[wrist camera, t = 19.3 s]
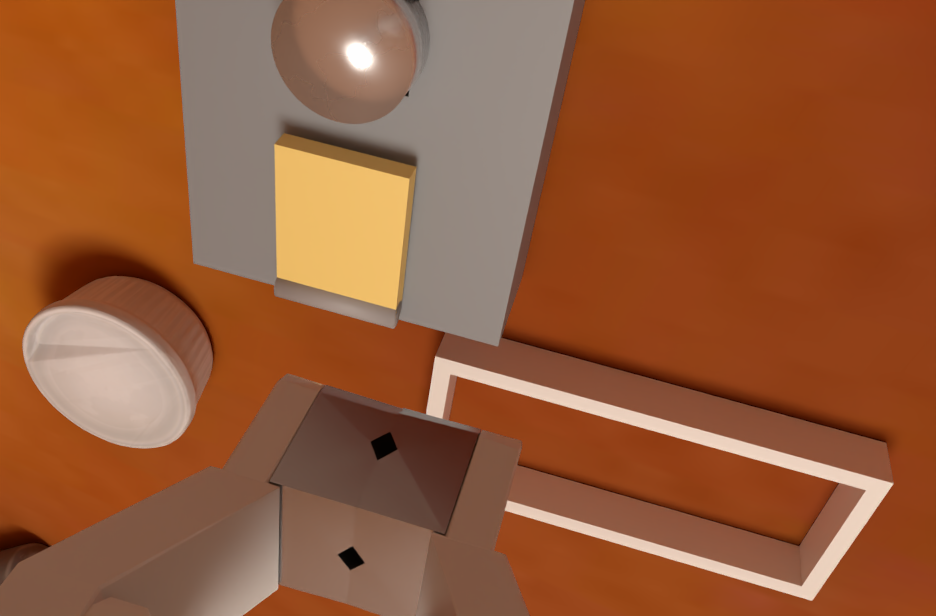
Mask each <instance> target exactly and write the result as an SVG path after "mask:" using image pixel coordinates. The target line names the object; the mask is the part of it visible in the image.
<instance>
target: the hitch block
mask: <svg viewBox="0 0 936 616" xmlns="http://www.w3.org/2000/svg"><path fill="white" fill-rule="evenodd" d="M282 1H283V0H175V4H176V18H177V32H178V47H179V61H180V75H181V89H182V104H183V118H184V132H185V147H186V161H187V175H188V190H189V204H190V218H191V233H192V247H193V261H194V263H195V264H199V265H202V266H206V267H210V268H213V269H217V270H220V271H224V272H228V273H231V274H235V275H239V276H242V277H246V278H250V279H253V280H257V281H261V282H264V283H268V284H271V285H275V281H276V278H277V257H276V203H275V149H274V144H275V143H276V142H277V141H278V139H279V138H280V137H281V136H282V135H283V134H284V133H286V134H290V135H294V136H298V137H301V138H305V139H309V140H313V141H317V142H321V143H325V144H329V145H333V146H337V147H341V148H345V149H348V150H352V151H356V152H360V153H364V154H368V155H372V156H376V157H380V158H384V159H388V160H392V161H395V162H399V163H403V164H407V165H411V166H415V167H416V176H415V185H414V195H413V204H412V213H411V222H410V232H409V241H408V250H407V260H406V269H405V278H404V287H403V297H402V308H401V313H400V316H399V320H403V321H406V322H410V323H414V324H417V325H421V326H425V327H428V328H432V329H436V330H439V331H443V332H446V333H450V334H454V335H457V336H461V337H465V338H468V339H472V340H476V341H479V342H483V343H487V344H490V345H494V346H497V347H498V345H499V343H500V340H501V337H502V334H503V331H504V328H505V325H506V322H507V319H508V316H509V314H510V311H511V308H512V305H513V302H514V299H515V296H516V293H517V290H518V287H519V285H520V282H521V279H522V275H523V271H524V266H525V262H526V257H527V253H528V249H529V244H530V240H531V235H532V231H533V227H534V222H535V218H536V213H537V209H538V205H539V200H540V196H541V192H542V187H543V183H544V178H545V174H546V170H547V165H548V161H549V156H550V152H551V148H552V143H553V139H554V134H555V130H556V126H557V121H558V117H559V113H560V108H561V104H562V99H563V95H564V91H565V86H566V82H567V77H568V73H569V69H570V64H571V60H572V55H573V51H574V47H575V42H576V38H577V34H578V29H579V25H580V20H581V16H582V12H583V7H584V3H585V0H419V2H420V4H421V6H422V8H423V11H424V13H425V16H426V19H427V22H428V27H429V35H430V48H429V54H428V59H427V62H426V65H425V67H424V69H423V71H422V73H421V74H420V76H419V77H418V79H417V80H416V81H415V83H414V84H413V85H412V87H411V88H410V89H409V91H408V92H407V94H406V95H405V96H404V98H403V99H402V100H401V102H400V103H399V104H398V105H397V106H396V107H395V108H394V110H392V111H391V112H390V113H388V114H387V115H386V116H384V117H382V118H380V119H378V120H375V121H372V122H368V123H363V124H345V123H340V122H336V121H333V120H329V119H327V118H325V117H322V116H320V115H318V114H317V113H315V112H313V111H312V110H310V109H309V108H308V107H306V106H305V105H304V104H302V103H301V102H300V101H299V100H298V99H297V98H296V97H295V96H294V95H293V93H292V92H291V91H290V90H289V89H288V87H287V86H286V84H285V83H284V81H283V79H282V78H281V76H280V74H279V72H278V69H277V67H276V64H275V61H274V58H273V54H272V48H271V28H272V23H273V19H274V16H275V13H276V11H277V9H278V7H279V5H280V3H281V2H282Z"/></svg>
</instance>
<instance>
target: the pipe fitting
mask: <svg viewBox="0 0 936 616" xmlns="http://www.w3.org/2000/svg"><path fill="white" fill-rule="evenodd" d="M47 548H49V547H47V546H45V545H43V544H39V543H29V544H24V545H20V546H16V547H13V548H9V549H6V550H2V551H0V585H1V584H2V583H3V582H4V580H5V579H6V578H7V577H8V575H9V574H10V573H11V572H12V570H13V569H14V568H15V566H16V565H17V564H18V563H19V562H21V561H23V560H25V559H27V558H29V557H31V556H33V555H35V554H37V553H39V552H41V551H43V550H45V549H47Z"/></svg>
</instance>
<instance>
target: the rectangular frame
mask: <svg viewBox="0 0 936 616" xmlns="http://www.w3.org/2000/svg"><path fill="white" fill-rule="evenodd" d="M457 376H459V377H462V378H466V379H469V380H473V381H477V382H480V383H484V384H487V385H491V386H495V387H498V388H502V389H505V390H509V391H512V392H516V393H520V394H523V395H527V396H530V397H534V398H538V399H541V400H545V401H548V402H552V403H555V404H559V405H563V406H566V407H570V408H573V409H577V410H581V411H584V412H588V413H591V414H595V415H598V416H602V417H606V418H609V419H613V420H616V421H620V422H623V423H627V424H631V425H634V426H638V427H641V428H645V429H649V430H652V431H656V432H659V433H663V434H666V435H670V436H674V437H677V438H681V439H684V440H688V441H692V442H695V443H699V444H702V445H706V446H709V447H713V448H717V449H720V450H724V451H727V452H731V453H734V454H738V455H742V456H745V457H749V458H752V459H756V460H760V461H763V462H767V463H770V464H774V465H777V466H781V467H785V468H788V469H792V470H795V471H799V472H803V473H806V474H810V475H813V476H817V477H820V478H824V479H828V480H831V481H835V482H838V483H839V484H838V486H837V487H836V489H835V490H834V492H833V494H832V495H831V497H830V498H829V500H828V501H827V503H826V505H825V506H824V508H823V509H822V511H821V512H820V514H819V516H818V517H817V519H816V520H815V522H814V524H813V525H812V527H811V528H810V530H809V531H808V533H807V535H806V536H805V538H804V539H803V541H802V542H801V544H800V546H797V545H793V544H790V543H787V542H783V541H780V540H776V539H773V538H769V537H766V536H762V535H759V534H755V533H752V532H748V531H745V530H741V529H738V528H734V527H731V526H727V525H724V524H721V523H717V522H714V521H710V520H707V519H703V518H700V517H696V516H693V515H689V514H686V513H682V512H679V511H675V510H672V509H668V508H665V507H661V506H658V505H655V504H651V503H648V502H644V501H641V500H637V499H634V498H630V497H627V496H623V495H620V494H616V493H613V492H609V491H606V490H602V489H599V488H595V487H592V486H589V485H585V484H582V483H578V482H575V481H571V480H568V479H564V478H561V477H557V476H554V475H550V474H547V473H543V472H540V471H536V470H533V469H529V468H526V467H523V466H519V465H517V467H516V471H515V475H514V478H513V482H512V486H511V489H510V493H509V497H508V500H507V504H506V508H505V511H508V512H512V513H515V514H519V515H522V516H525V517H529V518H532V519H536V520H539V521H542V522H546V523H549V524H553V525H556V526H559V527H563V528H566V529H570V530H573V531H576V532H580V533H583V534H587V535H590V536H593V537H597V538H600V539H604V540H607V541H610V542H614V543H617V544H621V545H624V546H627V547H631V548H634V549H638V550H641V551H644V552H648V553H651V554H655V555H658V556H661V557H665V558H668V559H672V560H675V561H679V562H682V563H685V564H689V565H692V566H696V567H699V568H702V569H706V570H709V571H713V572H716V573H719V574H723V575H726V576H730V577H733V578H736V579H740V580H743V581H747V582H750V583H753V584H757V585H760V586H764V587H767V588H770V589H774V590H777V591H781V592H784V593H787V594H791V595H794V596H798V597H801V598H804V599H808V600H811V601H812V600H813V599H814V597H815V596H816V594H817V593H818V591H819V590H820V589H821V587H822V586H823V584H824V583H825V581H826V580H827V578H828V577H829V576H830V574H831V573H832V571H833V570H834V568H835V567H836V566H837V564H838V563H839V561H840V560H841V558H842V557H843V555H844V554H845V553H846V551H847V550H848V548H849V547H850V545H851V544H852V543H853V541H854V540H855V538H856V537H857V535H858V534H859V533H860V531H861V530H862V528H863V527H864V525H865V524H866V522H867V521H868V520H869V518H870V517H871V515H872V514H873V512H874V511H875V510H876V508H877V507H878V505H879V504H880V502H881V501H882V499H883V498H884V497H885V495H886V494H887V492H888V491H889V489H890V488H891V487H892V485H893V484H894V483H893V477H892V472H891V466H890V461H889V455H888V449H887V444H886V443H885V442H881V441H878V440H874V439H871V438H867V437H863V436H860V435H856V434H852V433H849V432H845V431H841V430H838V429H834V428H830V427H827V426H823V425H819V424H816V423H812V422H808V421H805V420H801V419H797V418H794V417H790V416H786V415H783V414H779V413H775V412H772V411H768V410H764V409H761V408H757V407H753V406H750V405H746V404H742V403H739V402H735V401H731V400H728V399H724V398H720V397H717V396H713V395H709V394H706V393H702V392H698V391H695V390H691V389H687V388H684V387H680V386H676V385H673V384H669V383H665V382H662V381H658V380H655V379H651V378H647V377H644V376H640V375H636V374H633V373H629V372H625V371H622V370H618V369H614V368H611V367H607V366H603V365H600V364H596V363H592V362H589V361H585V360H581V359H578V358H574V357H570V356H567V355H563V354H559V353H556V352H552V351H548V350H545V349H541V348H537V347H534V346H530V345H526V344H523V343H519V342H515V341H512V340H508V339H504V338H501V340H500V343H499V345H498V347H497V346H494V345H490V344H487V343H483V342H479V341H476V340H472V339H468V338H465V337H461V336H457V335H454V334H450V333H446V332H445V335H444V337H443V339H442V342H441V344H440V346H439V349H438V351H437V353H436V356H435V361H434V367H433V373H432V380H431V386H430V392H429V398H428V405H427V411H426V414H427V415H430V416H434V417H438V418H441V419H445V420H449V416H450V411H451V406H452V400H453V395H454V390H455V384H456V379H457Z"/></svg>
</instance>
